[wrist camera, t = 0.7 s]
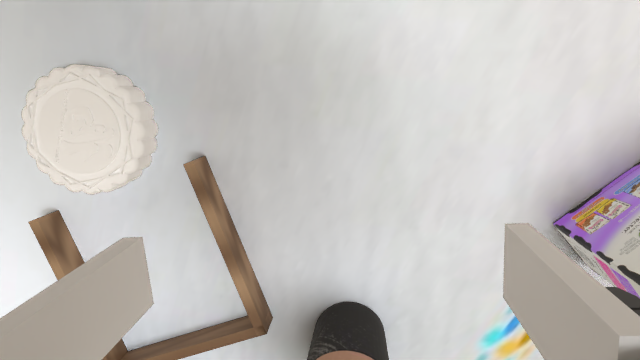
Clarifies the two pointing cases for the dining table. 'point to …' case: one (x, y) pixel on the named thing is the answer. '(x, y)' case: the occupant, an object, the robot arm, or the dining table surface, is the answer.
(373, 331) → the travel mug
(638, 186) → the candy box
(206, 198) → the wooden u-shaped frame
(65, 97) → the mooncake
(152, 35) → the dining table surface
